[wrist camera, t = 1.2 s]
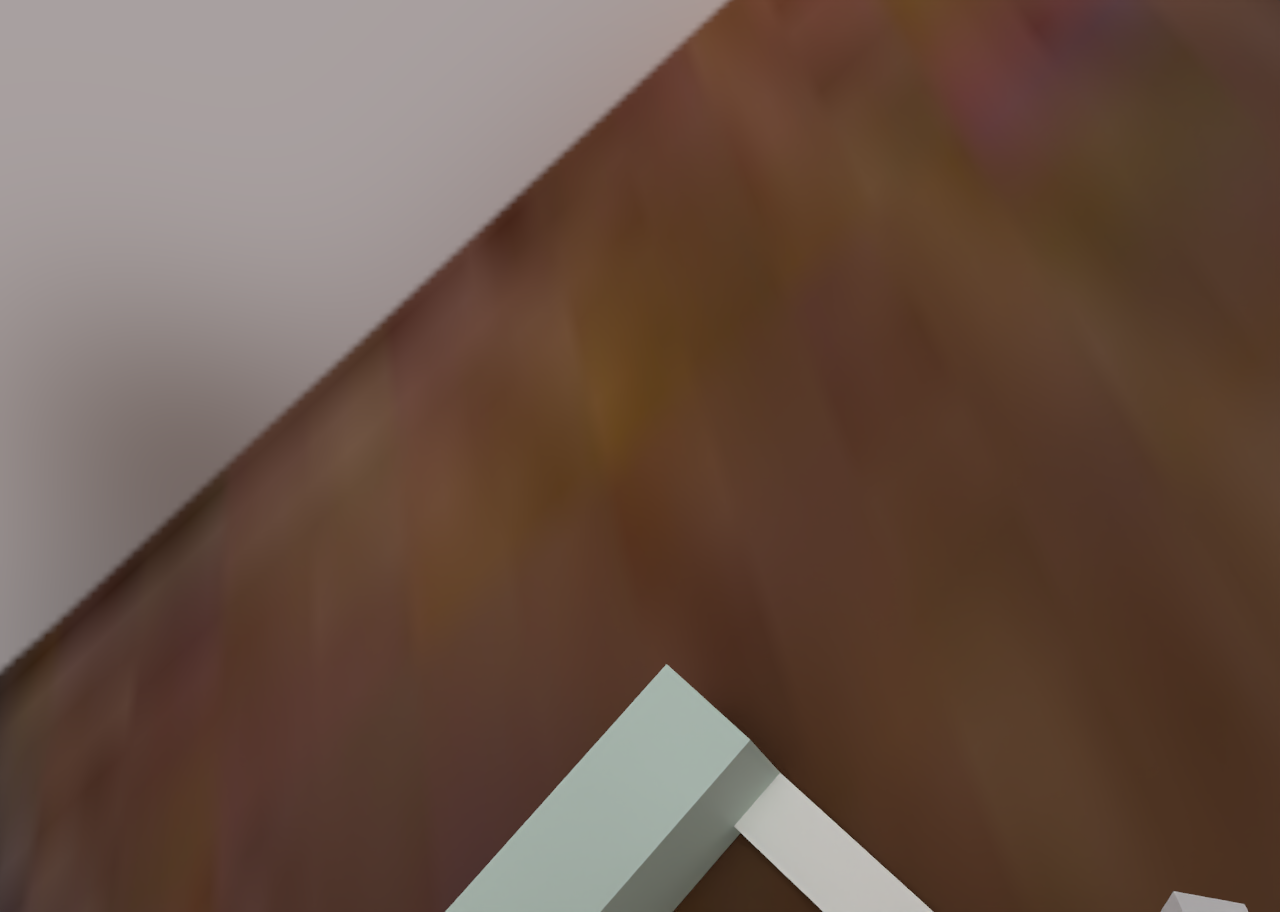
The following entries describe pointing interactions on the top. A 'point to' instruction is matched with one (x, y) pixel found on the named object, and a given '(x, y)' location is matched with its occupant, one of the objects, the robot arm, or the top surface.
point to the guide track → (674, 823)
